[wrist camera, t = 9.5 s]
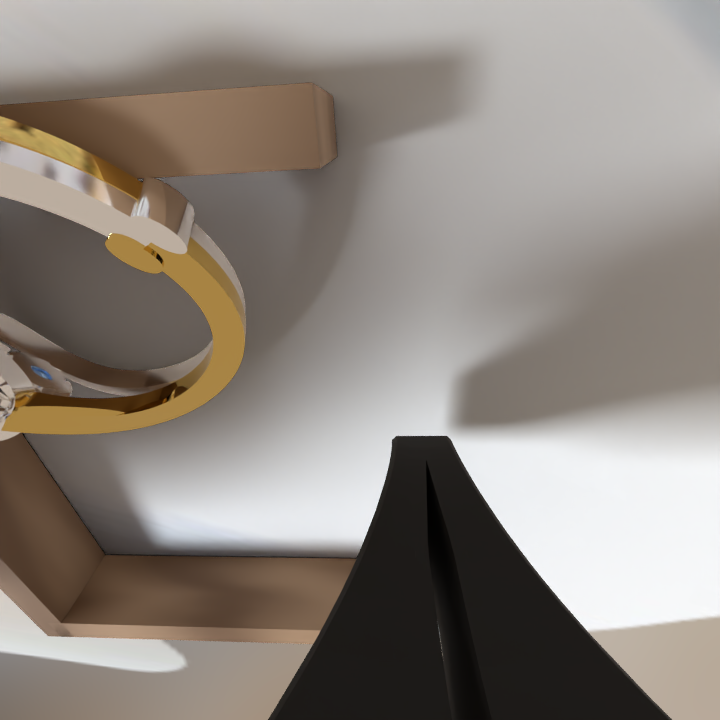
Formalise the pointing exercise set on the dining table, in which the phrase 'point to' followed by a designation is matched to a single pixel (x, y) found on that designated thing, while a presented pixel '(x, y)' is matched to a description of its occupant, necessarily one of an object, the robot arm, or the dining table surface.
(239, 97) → the brown u-shaped frame
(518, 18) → the dining table surface
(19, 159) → the ring
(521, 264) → the dining table surface
